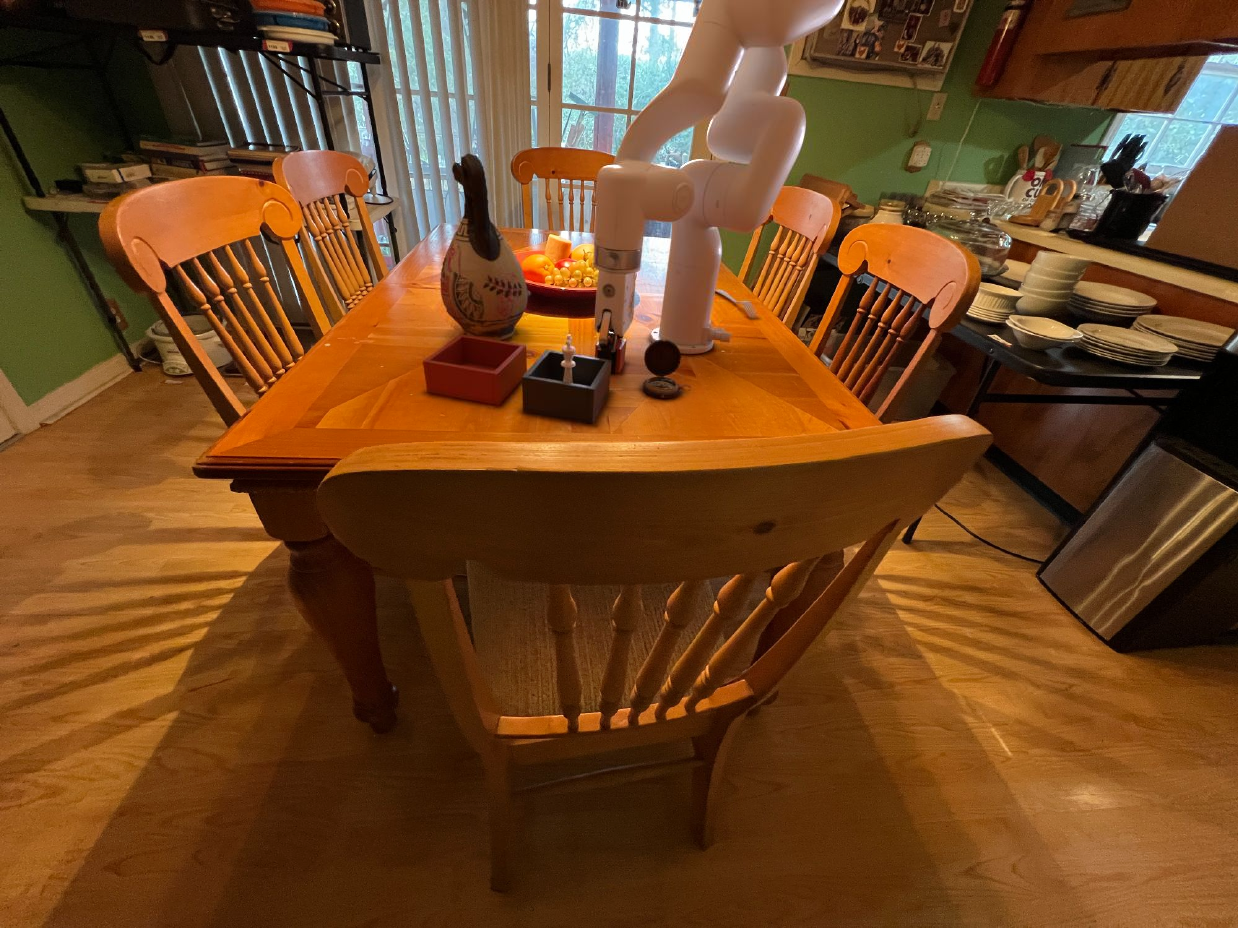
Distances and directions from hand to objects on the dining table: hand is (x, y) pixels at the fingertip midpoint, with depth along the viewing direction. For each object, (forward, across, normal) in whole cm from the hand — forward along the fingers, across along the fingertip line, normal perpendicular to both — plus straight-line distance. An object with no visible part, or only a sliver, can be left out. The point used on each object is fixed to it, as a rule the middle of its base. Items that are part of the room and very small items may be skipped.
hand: (609, 364), depth 89 cm
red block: (0, 0, 0) cm, 0 cm away
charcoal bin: (0, -15, +3) cm, 15 cm away
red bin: (0, -14, +18) cm, 23 cm away
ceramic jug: (+1, +5, +25) cm, 26 cm away
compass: (+1, -5, -11) cm, 12 cm away
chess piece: (0, -15, +3) cm, 15 cm away
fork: (+1, +48, -21) cm, 53 cm away
